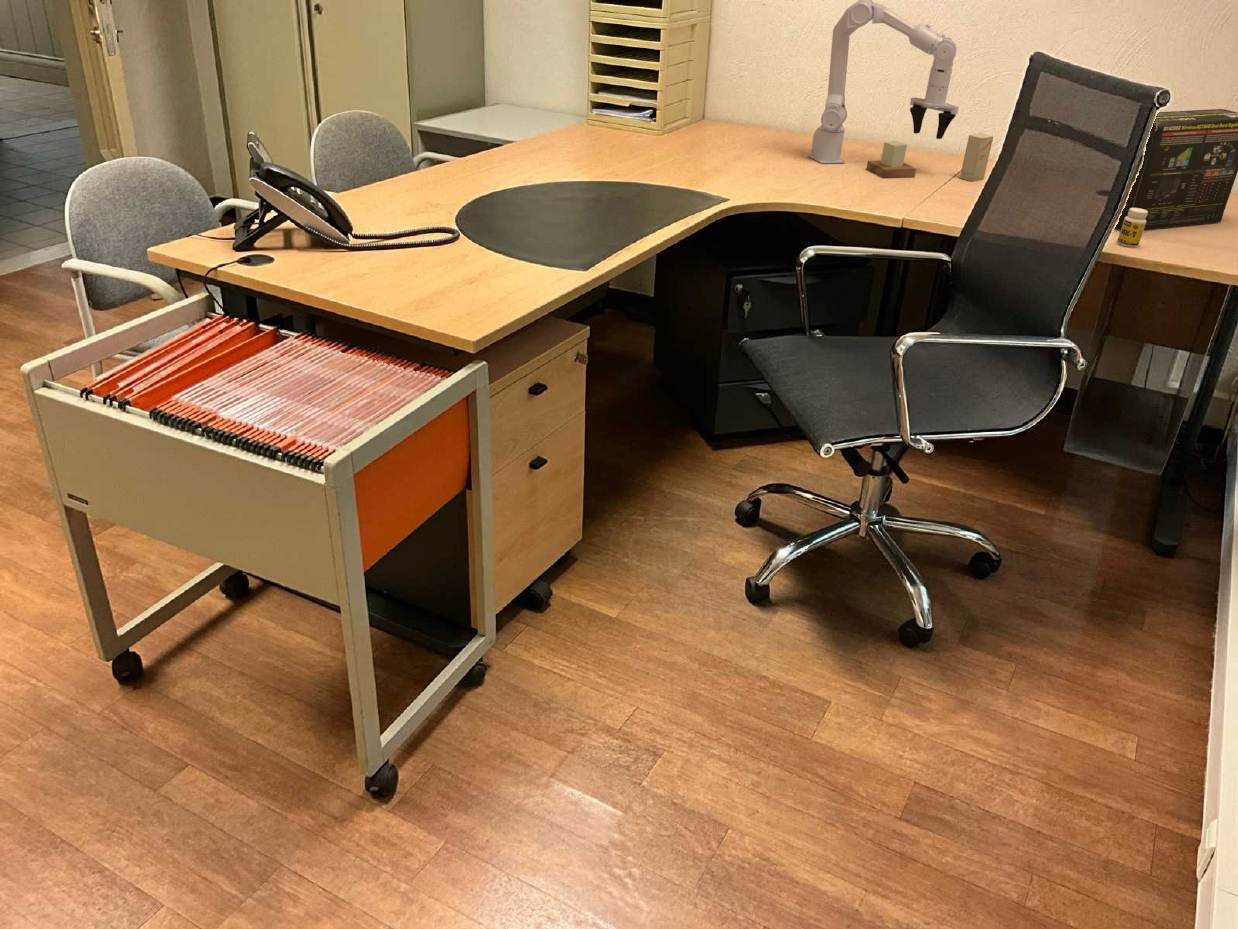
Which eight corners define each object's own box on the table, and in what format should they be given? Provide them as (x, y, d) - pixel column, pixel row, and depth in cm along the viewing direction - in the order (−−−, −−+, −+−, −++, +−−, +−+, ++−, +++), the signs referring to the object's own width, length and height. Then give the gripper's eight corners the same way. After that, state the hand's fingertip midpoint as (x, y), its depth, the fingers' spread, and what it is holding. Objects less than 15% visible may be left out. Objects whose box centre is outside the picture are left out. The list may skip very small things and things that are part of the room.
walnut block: (865, 171, 288) (867, 160, 286) (896, 170, 290) (898, 159, 289) (883, 180, 279) (885, 169, 278) (914, 179, 282) (916, 168, 281)
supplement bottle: (1113, 243, 236) (1124, 209, 232) (1121, 240, 239) (1132, 205, 235) (1133, 249, 233) (1145, 214, 229) (1141, 245, 236) (1152, 210, 232)
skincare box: (971, 181, 281) (982, 138, 275) (958, 178, 284) (968, 134, 278) (984, 179, 284) (994, 135, 278) (971, 175, 287) (980, 132, 281)
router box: (1186, 210, 266) (1222, 107, 252) (1222, 223, 257) (1261, 116, 243) (1088, 220, 253) (1120, 111, 239) (1122, 233, 244) (1158, 121, 230)
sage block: (880, 163, 284) (884, 142, 281) (891, 162, 286) (895, 140, 283) (891, 167, 281) (895, 145, 277) (902, 165, 283) (907, 144, 280)
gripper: (907, 82, 277) (898, 132, 284) (952, 91, 268) (941, 142, 275) (922, 80, 281) (912, 129, 288) (966, 89, 272) (955, 139, 279)
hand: (927, 135), depth 282 cm, fingers open, 7 cm apart
